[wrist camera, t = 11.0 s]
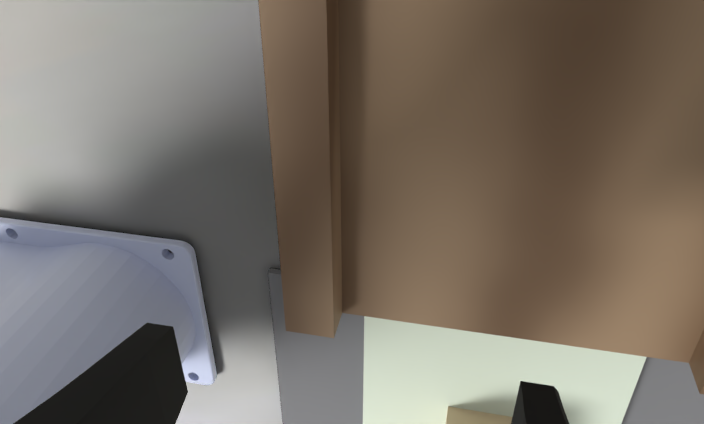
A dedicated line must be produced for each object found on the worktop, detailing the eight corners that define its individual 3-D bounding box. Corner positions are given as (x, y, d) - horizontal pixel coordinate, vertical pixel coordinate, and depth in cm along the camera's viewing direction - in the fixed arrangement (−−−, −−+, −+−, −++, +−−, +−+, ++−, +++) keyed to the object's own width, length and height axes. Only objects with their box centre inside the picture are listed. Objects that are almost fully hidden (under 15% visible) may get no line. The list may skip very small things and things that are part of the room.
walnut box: (318, 254, 23) (285, 330, 19) (297, -291, 14) (231, -329, 11) (716, 305, 20) (761, 403, 17) (990, -316, 12) (1197, -375, 8)
